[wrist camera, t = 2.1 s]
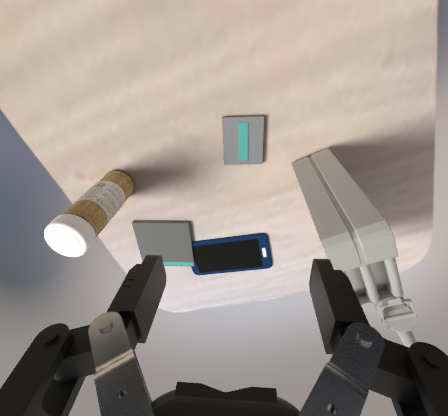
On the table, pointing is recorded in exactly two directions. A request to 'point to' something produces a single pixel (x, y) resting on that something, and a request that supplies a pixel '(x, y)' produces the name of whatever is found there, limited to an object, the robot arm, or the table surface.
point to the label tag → (243, 139)
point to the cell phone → (231, 254)
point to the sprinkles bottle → (88, 215)
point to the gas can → (356, 239)
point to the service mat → (165, 241)
